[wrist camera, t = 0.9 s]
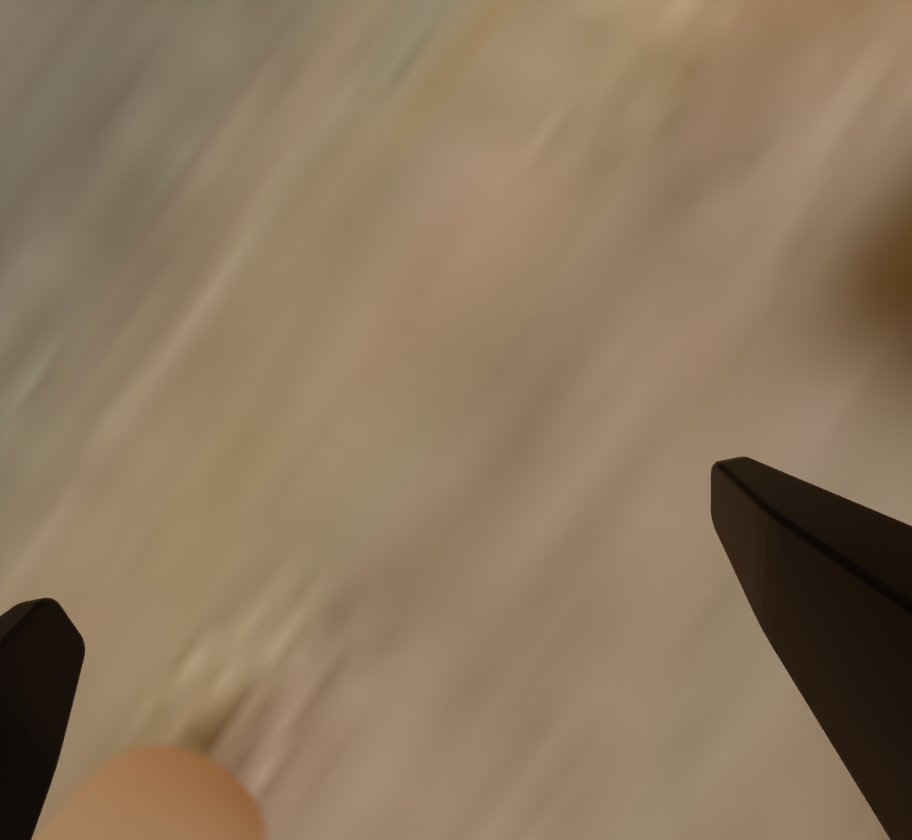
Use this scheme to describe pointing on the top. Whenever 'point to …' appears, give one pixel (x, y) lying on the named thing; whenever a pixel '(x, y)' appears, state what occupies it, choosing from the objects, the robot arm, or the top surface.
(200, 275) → the top surface
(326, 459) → the top surface
